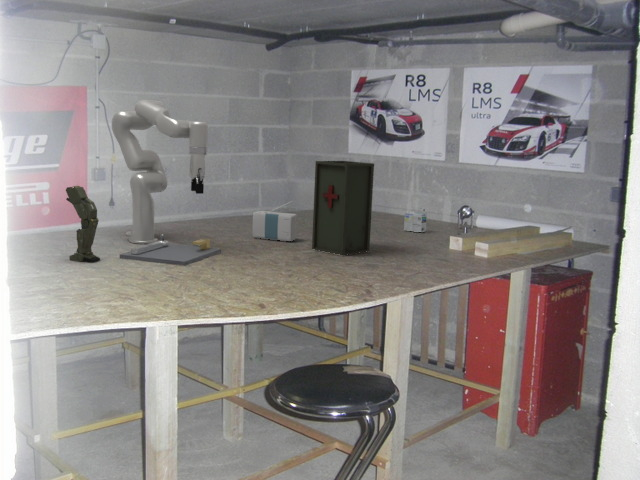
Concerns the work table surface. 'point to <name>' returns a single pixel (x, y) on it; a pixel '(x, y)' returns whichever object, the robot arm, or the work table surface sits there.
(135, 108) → the robot arm
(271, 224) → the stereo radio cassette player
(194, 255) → the base plate
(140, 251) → the link
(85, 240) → the mechanical leg
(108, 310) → the work table surface
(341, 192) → the first aid box
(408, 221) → the light bulb box
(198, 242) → the strip
